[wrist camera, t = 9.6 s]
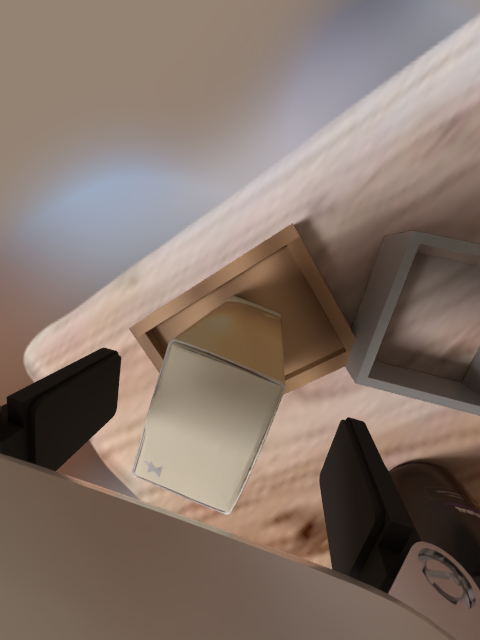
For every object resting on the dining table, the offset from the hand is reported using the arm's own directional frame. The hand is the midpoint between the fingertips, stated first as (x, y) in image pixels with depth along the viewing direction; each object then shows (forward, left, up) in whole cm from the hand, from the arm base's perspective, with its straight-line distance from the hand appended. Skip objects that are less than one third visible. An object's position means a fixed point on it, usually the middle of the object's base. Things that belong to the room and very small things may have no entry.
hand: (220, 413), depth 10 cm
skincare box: (0, 0, -11) cm, 11 cm away
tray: (+1, 0, -11) cm, 11 cm away
